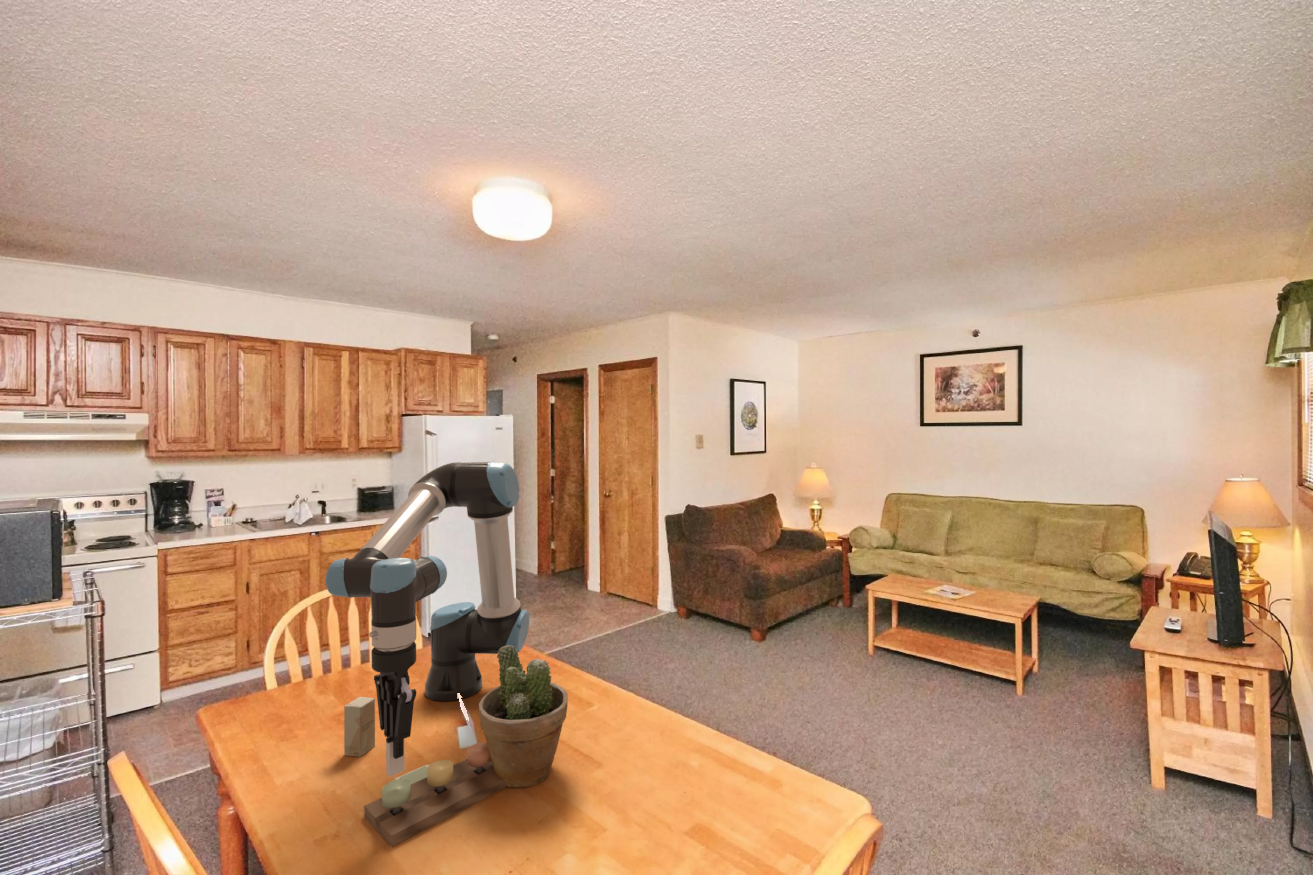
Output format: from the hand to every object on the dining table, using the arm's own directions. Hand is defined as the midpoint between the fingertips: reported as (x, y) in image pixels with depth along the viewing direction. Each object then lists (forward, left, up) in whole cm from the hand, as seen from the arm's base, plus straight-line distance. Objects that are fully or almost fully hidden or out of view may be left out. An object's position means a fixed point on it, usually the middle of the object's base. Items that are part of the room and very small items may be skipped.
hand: (395, 772), depth 107 cm
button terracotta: (-17, 0, -7) cm, 19 cm away
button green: (0, 0, -7) cm, 7 cm away
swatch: (-9, -10, -9) cm, 16 cm away
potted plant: (-25, +4, -9) cm, 27 cm away
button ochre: (-9, 0, -7) cm, 11 cm away
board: (-9, 0, -9) cm, 13 cm away
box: (-5, -31, -10) cm, 33 cm away
